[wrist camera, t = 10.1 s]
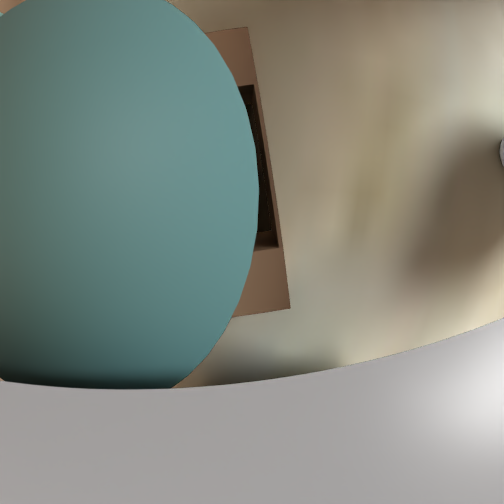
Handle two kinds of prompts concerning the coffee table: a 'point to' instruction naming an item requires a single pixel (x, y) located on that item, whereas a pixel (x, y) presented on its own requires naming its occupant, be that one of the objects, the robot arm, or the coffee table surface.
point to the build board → (127, 194)
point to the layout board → (8, 5)
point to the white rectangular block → (271, 436)
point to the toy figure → (502, 152)
